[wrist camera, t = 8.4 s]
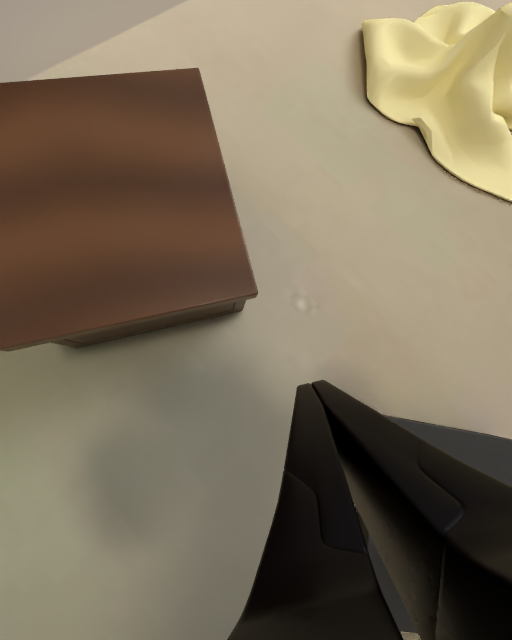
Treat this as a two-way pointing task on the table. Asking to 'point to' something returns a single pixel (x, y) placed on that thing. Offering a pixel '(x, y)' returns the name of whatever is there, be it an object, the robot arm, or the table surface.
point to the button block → (469, 447)
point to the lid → (112, 206)
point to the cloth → (449, 86)
